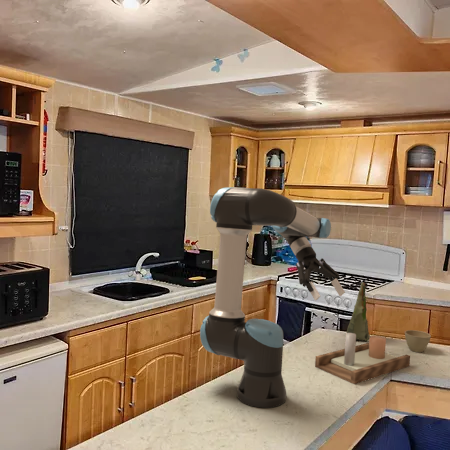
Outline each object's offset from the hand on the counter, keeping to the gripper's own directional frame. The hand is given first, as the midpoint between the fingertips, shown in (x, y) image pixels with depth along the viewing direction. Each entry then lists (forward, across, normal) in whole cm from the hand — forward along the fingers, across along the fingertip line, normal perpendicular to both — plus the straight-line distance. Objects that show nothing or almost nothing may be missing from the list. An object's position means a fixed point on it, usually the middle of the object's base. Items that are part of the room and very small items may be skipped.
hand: (330, 296), depth 179 cm
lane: (+26, -7, -10) cm, 28 cm away
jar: (+24, -15, -8) cm, 29 cm away
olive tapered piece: (+10, -33, -26) cm, 43 cm away
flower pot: (+26, -42, -10) cm, 51 cm away
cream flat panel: (+25, -9, -9) cm, 28 cm away
